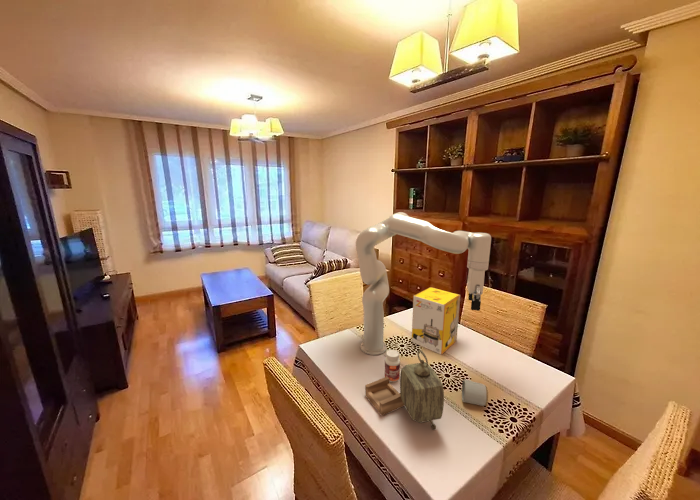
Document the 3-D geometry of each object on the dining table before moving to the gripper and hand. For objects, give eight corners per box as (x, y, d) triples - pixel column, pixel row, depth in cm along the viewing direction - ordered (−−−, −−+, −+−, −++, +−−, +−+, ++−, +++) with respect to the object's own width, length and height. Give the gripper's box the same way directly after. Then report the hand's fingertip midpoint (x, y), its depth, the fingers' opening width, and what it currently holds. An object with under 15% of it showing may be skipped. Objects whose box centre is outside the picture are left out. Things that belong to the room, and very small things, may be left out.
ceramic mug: (487, 411, 98) (489, 392, 97) (462, 406, 101) (464, 387, 99) (482, 391, 108) (484, 373, 107) (460, 387, 111) (461, 369, 109)
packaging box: (456, 341, 143) (460, 295, 137) (441, 354, 131) (444, 305, 126) (427, 330, 154) (430, 287, 148) (411, 341, 143) (413, 295, 137)
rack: (365, 395, 106) (365, 384, 105) (387, 386, 111) (387, 376, 110) (381, 416, 97) (382, 404, 96) (404, 405, 102) (405, 394, 100)
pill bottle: (389, 384, 112) (390, 359, 110) (381, 375, 118) (382, 351, 115) (402, 379, 115) (403, 355, 112) (394, 371, 120) (394, 347, 118)
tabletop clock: (441, 433, 90) (446, 364, 84) (415, 438, 88) (418, 368, 83) (421, 400, 104) (424, 339, 98) (398, 404, 102) (400, 342, 96)
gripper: (465, 258, 119) (462, 296, 123) (469, 270, 103) (465, 313, 107) (484, 259, 117) (480, 297, 121) (492, 271, 101) (487, 315, 105)
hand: (473, 304), depth 114 cm, fingers open, 9 cm apart
